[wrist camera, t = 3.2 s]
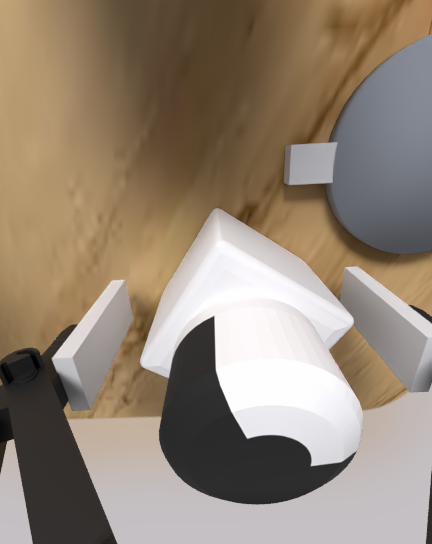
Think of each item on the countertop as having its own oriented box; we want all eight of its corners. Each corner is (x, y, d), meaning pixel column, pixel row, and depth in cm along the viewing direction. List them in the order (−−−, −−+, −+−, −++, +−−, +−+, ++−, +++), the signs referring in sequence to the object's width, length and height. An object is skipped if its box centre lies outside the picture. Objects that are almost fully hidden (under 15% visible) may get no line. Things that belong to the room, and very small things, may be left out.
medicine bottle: (246, 335, 20) (288, 551, 9) (161, 293, 19) (91, 493, 8) (306, 260, 18) (458, 433, 7) (215, 204, 16) (225, 311, 5)
